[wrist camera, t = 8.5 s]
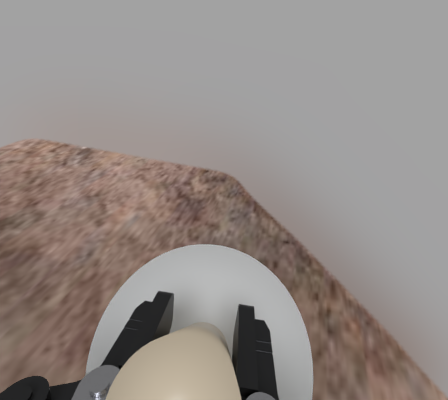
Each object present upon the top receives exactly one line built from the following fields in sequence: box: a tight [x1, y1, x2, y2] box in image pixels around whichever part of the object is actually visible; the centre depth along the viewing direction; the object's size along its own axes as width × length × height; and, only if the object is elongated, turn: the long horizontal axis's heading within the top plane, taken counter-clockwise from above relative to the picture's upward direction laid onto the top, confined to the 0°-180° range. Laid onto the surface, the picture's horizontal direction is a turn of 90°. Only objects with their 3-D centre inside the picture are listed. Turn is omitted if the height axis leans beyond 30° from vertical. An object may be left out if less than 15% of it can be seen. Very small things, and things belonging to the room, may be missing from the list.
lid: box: [86, 244, 313, 400], centre depth 9 cm, size 13×13×10 cm
